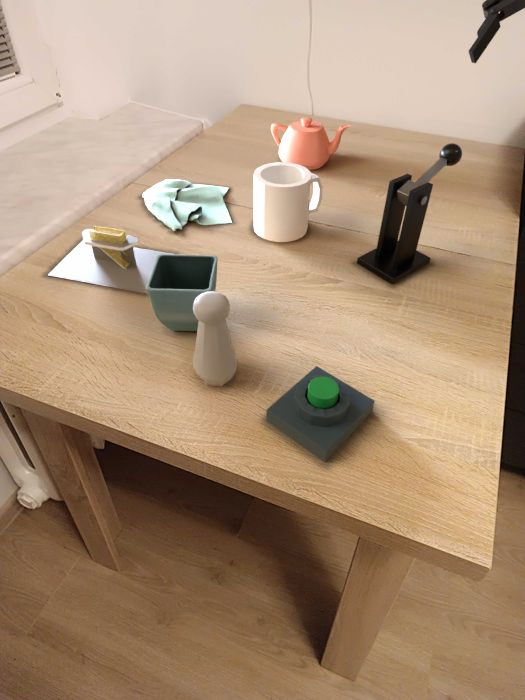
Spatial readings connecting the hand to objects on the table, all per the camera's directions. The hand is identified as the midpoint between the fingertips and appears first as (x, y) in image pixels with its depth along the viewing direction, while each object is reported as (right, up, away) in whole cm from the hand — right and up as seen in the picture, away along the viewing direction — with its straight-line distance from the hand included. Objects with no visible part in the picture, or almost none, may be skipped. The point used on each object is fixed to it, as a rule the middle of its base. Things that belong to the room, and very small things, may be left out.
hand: (510, 67), depth 77 cm
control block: (-31, -52, -15) cm, 62 cm away
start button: (-31, -49, -17) cm, 61 cm away
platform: (-64, -29, +9) cm, 71 cm away
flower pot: (-49, -39, -2) cm, 63 cm away
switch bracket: (-15, -29, +10) cm, 34 cm away
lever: (-11, -17, +3) cm, 20 cm away
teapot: (-28, +1, +41) cm, 49 cm away
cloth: (-53, -15, +24) cm, 60 cm away
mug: (-34, -20, +19) cm, 44 cm away
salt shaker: (-44, -47, -10) cm, 66 cm away
